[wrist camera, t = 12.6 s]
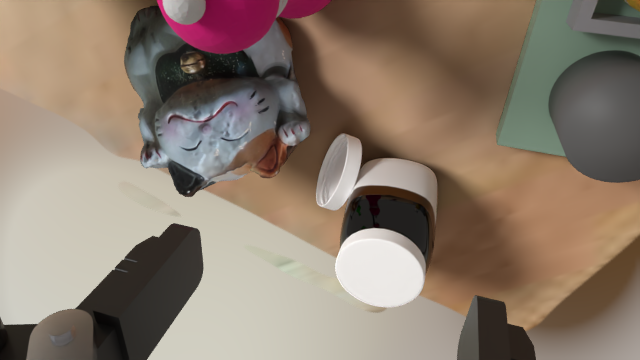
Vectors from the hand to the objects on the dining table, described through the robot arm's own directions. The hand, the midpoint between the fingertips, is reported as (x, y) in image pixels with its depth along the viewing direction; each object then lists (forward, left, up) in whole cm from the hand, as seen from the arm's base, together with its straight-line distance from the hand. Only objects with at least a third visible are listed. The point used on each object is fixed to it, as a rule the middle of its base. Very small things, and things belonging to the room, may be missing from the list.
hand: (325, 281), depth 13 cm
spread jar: (+14, -1, -28) cm, 32 cm away
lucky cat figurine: (+5, -15, -28) cm, 32 cm away
